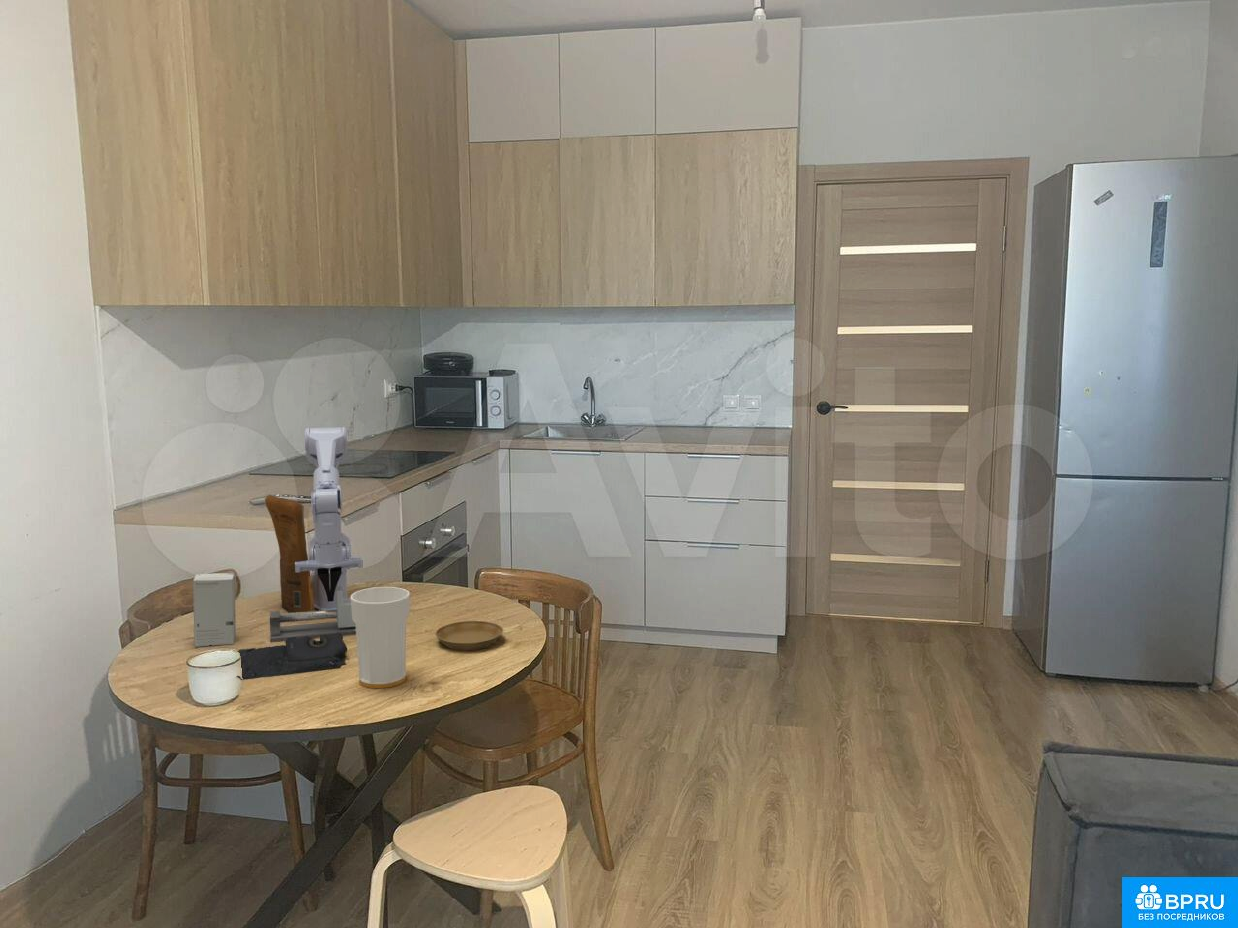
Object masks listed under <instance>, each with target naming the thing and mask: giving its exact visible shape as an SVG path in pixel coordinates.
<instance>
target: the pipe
mask: <svg viewBox="0 0 1238 928" xmlns="http://www.w3.org/2000/svg"><path fill="white" fill-rule="evenodd" d="M337 618H338V614H337V609H331V610H314V611H307V612H295V613H291V612H285V613H284V612H283V613H281V611H280V610H271V611H270V612H269V631H270V637H271V636H280V630H281V624H284V623H292V622H293V623H294V622H305V621H317V620H329V619H331V620H332V619H337Z"/></svg>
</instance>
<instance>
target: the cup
mask: <svg viewBox="0 0 1238 928" xmlns="http://www.w3.org/2000/svg"><path fill="white" fill-rule="evenodd" d="M350 598H351V608H352V620H353V621H354V623H355V624H356V634H355V635H356V650H357V651H356V652H357V653H356V654H357V666H358V682H359V684H360V685H361V686H363V687H364V688H370V689H386V688H392V687H396V686H399V685H401V684H403V683H404V682H405V681H407V672H406V671H407V670H406V668H407V666H406V665H407V663H406V662H407V660H406V659H407V620H408V618H409V617H410V615H411V611H410V610H411V601H410V600H411V593H410V591H409V590H407V589H404V588H401V587H397V586H377V587H375V586H374V587H373V586H372V587H369V588H364V589H363V588H362V589H360V590H356V591H355V592H353V593H352V594H351V595H350Z"/></svg>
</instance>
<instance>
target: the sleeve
mask: <svg viewBox="0 0 1238 928" xmlns="http://www.w3.org/2000/svg"><path fill="white" fill-rule="evenodd" d="M336 597H337V614H338V618H336V622H337V623H338V628H344V627H356V624H355V623H354V621H353V620H352V608H351V597H347V598H345V599H343V597H342V586H336Z"/></svg>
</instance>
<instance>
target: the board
mask: <svg viewBox="0 0 1238 928" xmlns="http://www.w3.org/2000/svg"><path fill="white" fill-rule="evenodd" d="M280 627H281V630H280V636H270V638H269V640H270V643H279V642H286V639H288V638H290V637H296V638H302V637H305V636H309V637H311V638H312V639H320V635H324V634H335V633H337V632H339V633H341V634H342V636H343V637H344V636H354V635H356V627H344V628H338V623H337V621H330V622H329V621H328V622H318V623H306V624H295V625H285V626H284V625H283V626H281V625H280Z"/></svg>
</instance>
